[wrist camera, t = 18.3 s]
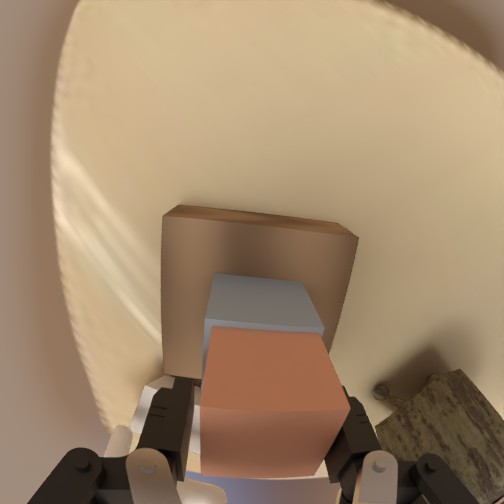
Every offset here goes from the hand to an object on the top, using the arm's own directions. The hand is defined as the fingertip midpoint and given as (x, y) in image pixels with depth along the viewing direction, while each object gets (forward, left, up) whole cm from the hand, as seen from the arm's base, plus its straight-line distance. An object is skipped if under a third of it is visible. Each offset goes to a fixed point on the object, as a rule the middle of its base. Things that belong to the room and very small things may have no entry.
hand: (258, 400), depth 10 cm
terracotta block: (0, 0, -2) cm, 2 cm away
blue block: (0, 0, -7) cm, 7 cm away
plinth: (0, 0, -11) cm, 11 cm away
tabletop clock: (-20, +11, -11) cm, 25 cm away
